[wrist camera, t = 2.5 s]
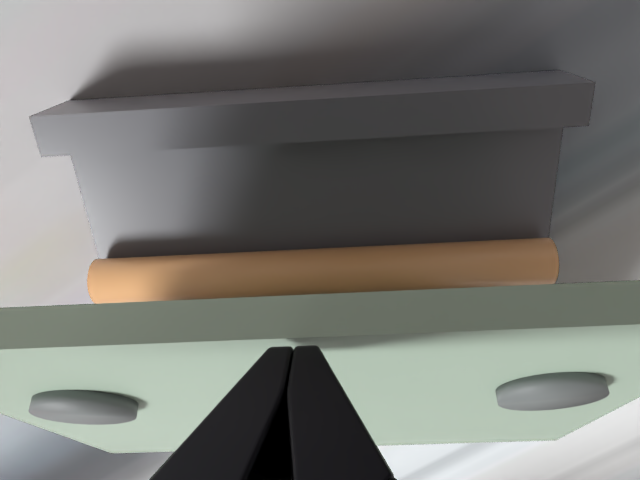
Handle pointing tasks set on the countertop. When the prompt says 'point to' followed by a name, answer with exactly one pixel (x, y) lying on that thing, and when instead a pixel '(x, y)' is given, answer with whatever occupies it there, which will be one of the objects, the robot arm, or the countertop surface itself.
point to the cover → (331, 361)
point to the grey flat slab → (320, 185)
